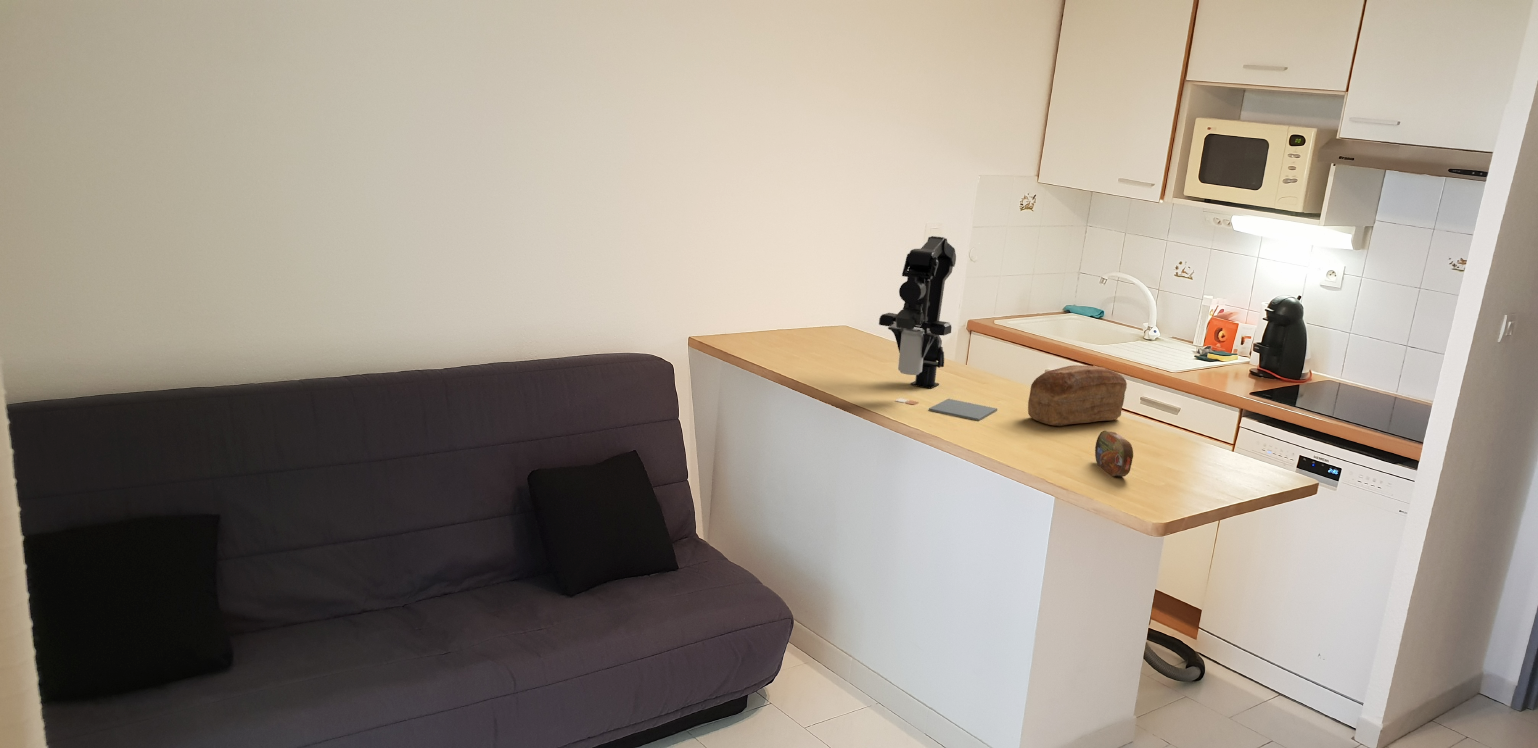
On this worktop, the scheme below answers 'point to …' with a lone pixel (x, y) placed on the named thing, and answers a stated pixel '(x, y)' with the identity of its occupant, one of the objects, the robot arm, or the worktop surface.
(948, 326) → the robot arm
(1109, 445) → the tin
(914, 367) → the beverage can
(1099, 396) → the bread
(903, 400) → the two-tone square tiles
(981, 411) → the slate mat
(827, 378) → the worktop surface
